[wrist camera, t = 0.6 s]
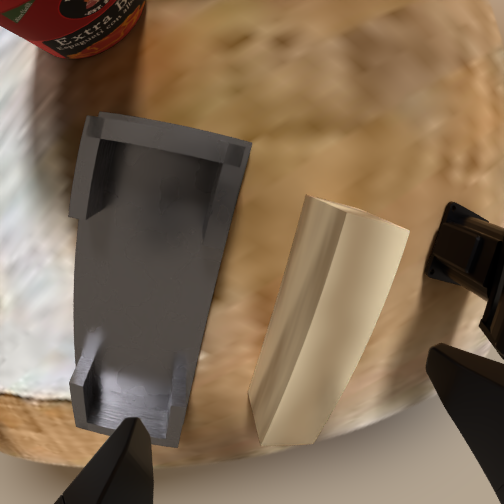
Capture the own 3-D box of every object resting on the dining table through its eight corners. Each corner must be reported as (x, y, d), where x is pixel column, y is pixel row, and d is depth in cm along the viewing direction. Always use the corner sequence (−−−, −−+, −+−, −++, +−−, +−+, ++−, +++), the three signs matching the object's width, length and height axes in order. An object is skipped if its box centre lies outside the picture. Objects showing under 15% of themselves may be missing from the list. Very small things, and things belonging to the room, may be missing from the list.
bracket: (249, 143, 17) (263, 141, 14) (183, 416, 23) (183, 452, 19) (104, 113, 15) (80, 104, 12) (82, 395, 21) (71, 428, 17)
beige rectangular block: (357, 208, 20) (409, 230, 14) (292, 392, 24) (313, 443, 19) (304, 193, 19) (346, 212, 13) (247, 390, 23) (260, 446, 18)
